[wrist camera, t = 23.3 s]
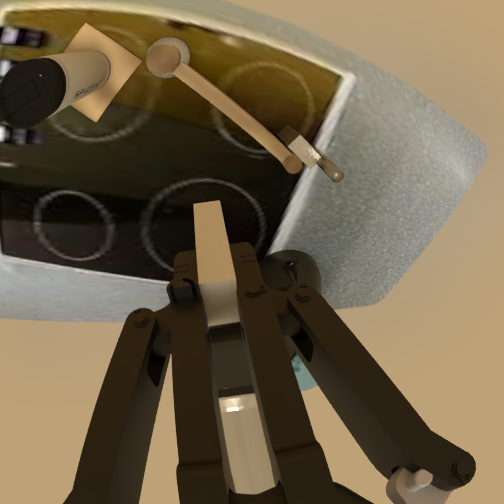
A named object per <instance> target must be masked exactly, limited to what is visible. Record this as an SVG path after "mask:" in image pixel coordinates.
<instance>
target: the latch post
mask: <svg viewBox="0 0 504 504" xmlns="http://www.w3.org/2000/svg"><path fill="white" fill-rule="evenodd" d="M277 136H278V137H279V138H280V139H281V140H282V141H283V142H284V143H285V144H286V145H287V146H288V147H289V148H290V149H291V150H292V151H293V152H294V153H295V154H296V155H297V156H298V157H299V158H300V159H301V160H302V161H303V162H304V163H305V164H306V165H307V166H308V167H309V168H310V169H311V168H312V167H313V166H314V165H315V164H317V165H318V166H319V167H320V168H321V169H322V170H323V171H324V172H325V173H326V174H327V175H328V176H329V178H330V179H331V180H332V181H333V182H335V183H338V182H340V181H342V180H343V178H344V173H343V172H342V171H341V170H340V169H339V168H338V167H337V166H336V165H335V164H334V163H333V162H332V161H330V160H329V159H328V158H327V157H326V156H325V155H324V154H323V153H322V152H321V151H320V150H318V149H317V148H316V147H315V146H314V145H313V144H309V143H308V142H307V141H306V140H305V139H304V138H303V137H302V136H301V135H300V134H299V133H298V132H297V131H295V130H294V129H293V128H292V127H291V126H290V125H288V124H287V125H286V126H285V127H284V128H283V129H282V130H281V131H280V132H279V133H278V134H277Z"/></svg>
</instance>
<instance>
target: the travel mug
mask: <svg viewBox="0 0 504 504" xmlns="http://www.w3.org/2000/svg"><path fill="white" fill-rule="evenodd" d="M110 72H111V65H110V62H109V60H108V58H107V57H106V55H104V54H103V53H101V52H99V51H82V52H73V53H64V54H57V55H50V56H43V57H38V58H35V59H30V60H25V61H22V62H20V63H18V64H16V65H15V66H14V67H12V68H11V69H10V70H9V71H8V72H7V74H6V75H5V76H4V78H3V80H2V82H1V84H0V122H2V121H3V120H5V121H6V122H7V123H8V124H9V125H11V126H13V127H15V128H21V129H22V128H29V127H33V126H35V125H37V124H38V123H40V122H41V121H43V120H45V119H46V118H49V117H50V116H52V115H54V114H55V113H57V112H59V111H60V110H62V109H64V108H65V107H67V106H69V105H71V104H72V103H74V102H76V101H78V100H80V99H81V98H83V97H85V96H87V95H89V94H91V93H93V92H95V91H97V90H98V89H100V88H101V87H102V86H104V84H105V83H106V82H107V80H108V78H109V76H110Z"/></svg>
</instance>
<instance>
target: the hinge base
mask: <svg viewBox="0 0 504 504" xmlns="http://www.w3.org/2000/svg"><path fill="white" fill-rule="evenodd" d="M160 44H168V45H171V46H174V47H176V48H177V49H178V50H179V51H180V53H181V60H180V62H179V64H178V65H177V66H176V67H175V68H174V69H173V70H172V71H170V72H168V73H166V74H157V73H154V72H152V71H151V70H150V69H149V68H148V69H149V71H150V72H151V73H152V74H154V75H155V76H158V77H161V78H171V77H175V75H174V74H172V73H173V72H174V71H175V69H176V68H177V67H178V66H179V65H180V64H181V63H182V62H185V63H186V64H188V63H189V60H190V51H189V49H188V47H187V45H186V44H185V43H184V42H183V41H181V40H180V39H177V38H173V37H166V38H162V39H159V40H157V41H156V42H154V43H153V44H152V45H151V46H150V48H149V49H148V51H147V54H146V58H147V55H148V53H149V51H150V50H151V49H152V48H153V47H155V46H157V45H160ZM146 65H147V63H146ZM147 67H148V66H147Z"/></svg>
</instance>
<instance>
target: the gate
mask: <svg viewBox="0 0 504 504" xmlns="http://www.w3.org/2000/svg"><path fill="white" fill-rule="evenodd" d="M180 60H181V53H180V51H179V50H178V49H177V48H176V47H174V46H171V45H168V44H160V45H157V46H155V47H153V48H152V49H151V50H150V51H149V53H148V55H147V58H146V63H147V66H148V68H149V69H150V70H151V71H152V72H154V73H157V74H166V73H168V72H170V71H172V70H173V69H174V68H175V67H176V66H177V65H178V64H179V62H180ZM172 74H174V75H175V76H176V77H178V78H179V79H180V80H182V81H183V82H184V83H186V84H187V85H188V86H190V87H191V88H192V89H194V90H195V91H196V92H198V93H199V94H200V95H202V96H203V97H204V98H205V99H207V100H208V101H209V102H210V103H212V104H213V105H214V106H216V107H217V108H218V109H219V110H221V111H222V112H223V113H224V114H226V115H227V116H228V117H229V118H230V119H232V120H233V121H234V122H235V123H237V124H238V125H239V126H240V127H241V128H243V129H244V130H245V131H246V132H247V133H249V134H250V135H251V136H252V137H253V138H254V139H256V140H257V141H258V142H259V143H260V144H261V145H263V146H264V147H265V148H266V149H267V150H268V151H269V152H271V153H272V154H273V155H274V156H275V157H276V158H277V159H279V160H280V162H281V163H282V165H283V166H284V167H285V169H286V170H287V171H288V172H289V173H291V174H295V173H298V172H299V171H300V170H301V169H302V165H303V164H302V161H301V160H300V159H299V157H298V156H297V155H296V154H295V153H294V152H293V151H292V150H291V149H290V148H289V147H288V146H287V145H286V144H282V143H281V142H280V141H279V140H278V139H277V138H276V137H275V136H273V135H272V134H271V133H270V132H269V131H268V130H267V129H266V128H265V127H263V126H262V125H261V124H260V123H259V122H258V121H257V120H255V119H254V118H253V117H252V116H251V115H250V114H249V113H247V112H246V111H245V110H244V109H243V108H241V107H240V106H239V105H238V104H237V103H236V102H234V101H233V100H232V99H231V98H229V97H228V96H227V95H226V94H225V93H223V92H222V91H221V90H220V89H218V88H217V87H216V86H215V85H213V84H212V83H211V82H210V81H208V80H207V79H206V78H205V77H203V76H202V75H201V74H199V73H198V72H197V71H195V70H194V69H193V68H192V67H190V66H189V65H188V64H186V63H185V62H182V63H181V64H180V65H179V66H178V67H177V68H176V69H175V71H174V72H173V73H172Z"/></svg>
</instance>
